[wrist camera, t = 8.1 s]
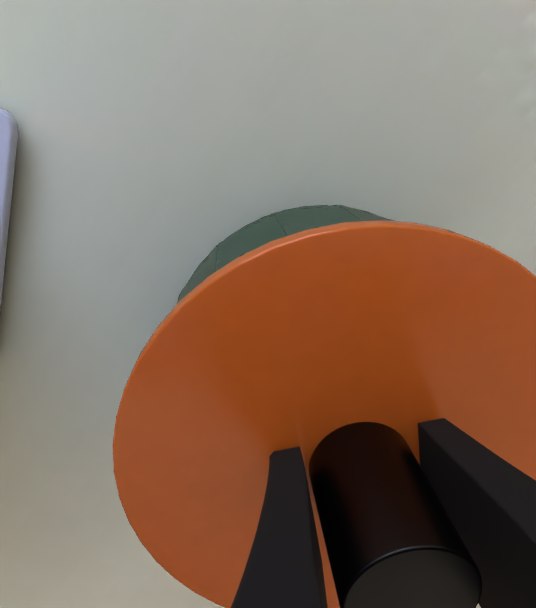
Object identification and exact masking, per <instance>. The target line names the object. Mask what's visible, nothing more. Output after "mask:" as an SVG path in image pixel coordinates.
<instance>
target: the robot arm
mask: <svg viewBox="0 0 536 608" xmlns="http://www.w3.org/2000/svg"><path fill="white" fill-rule="evenodd" d="M17 139H18V126H17V123H16V121H15V119H14V117H13V116H12V115H11V114H10V113H9V112H7V111H5V110H3V109H1V108H0V310H1V300H2V290H3V280H4V270H5V260H6V250H7V240H8V230H9V220H10V209H11V199H12V189H13V179H14V169H15V159H16V149H17ZM418 439H419V455H420V467H421V468H422V470H423V472H424V474H425V475H426V477H427V479H428V481H429V482H430V484H431V486H432V488H433V489H434V491H435V493H436V495H437V497H438V498H439V500H440V502H441V504H442V505H443V507H444V509H445V511H446V512H447V514H448V516H449V518H450V519H451V521H452V523H453V525H454V527H455V528H456V530H457V532H458V534H459V535H460V537H461V539H462V541H463V542H464V544H465V546H466V548H467V549H468V551H469V553H470V555H471V556H472V558H473V560H474V562H475V564H476V565H477V567H478V569H479V571H480V574H481V579H482V592H481V597H480V599H479V602H478V603H479V605H480V607H481V608H536V480H534V479H533V478H531V477H530V476H528V475H526V474H525V473H523V472H522V471H520V470H519V469H517V468H516V467H514V466H513V465H511V464H510V463H508V462H507V461H505V460H504V459H502V458H501V457H499V456H498V455H496V454H495V453H494V452H492V451H491V450H489V449H488V448H486V447H485V446H483V445H482V444H481V443H479V442H478V441H476V440H475V439H473V438H472V437H471V436H469V435H468V434H466V433H465V432H464V431H462V430H461V429H459V428H458V427H456V426H455V425H454V424H452V423H451V422H449V421H448V420H446V419H445V418H440V419H435V420H430V421H425V422H420V423H418ZM231 608H328V605H327V597H326V589H325V581H324V573H323V565H322V558H321V552H320V547H319V541H318V536H317V530H316V525H315V519H314V514H313V508H312V503H311V497H310V492H309V487H308V481H307V476H306V470H305V466H304V461H303V457H302V453H301V449H300V446H299V447H294V448H289V449H284V450H279V451H274V452H273V453H272V454H271V455H270V456H269V473H268V480H267V487H266V492H265V497H264V502H263V506H262V510H261V514H260V519H259V523H258V527H257V531H256V534H255V538H254V541H253V544H252V548H251V551H250V554H249V557H248V560H247V563H246V567H245V570H244V573H243V576H242V579H241V581H240V584H239V587H238V590H237V592H236V595H235V598H234V600H233V603H232V605H231Z"/></svg>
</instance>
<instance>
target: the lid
mask: <svg viewBox="0 0 536 608" xmlns="http://www.w3.org/2000/svg"><path fill="white" fill-rule="evenodd" d="M440 418H445V419H446V420H448V421H449V422H451V423H452V424H454V425H455V426H456V427H458V428H459V429H461V430H462V431H464V432H465V433H466V434H468V435H469V436H471V437H472V438H473V439H475V440H476V441H478V442H479V443H481V444H482V445H483V446H485V447H486V448H488V449H489V450H491V451H492V452H494V453H495V454H496V455H498V456H499V457H501V458H502V459H504V460H505V461H507V462H508V463H510V464H511V465H513V466H514V467H516V468H517V469H519V470H520V471H522V472H523V473H525V474H526V475H528V476H530V477H531V478H533V479H534V480H536V276H535V275H533V274H532V273H531V272H530V271H528V270H527V269H526V268H525V267H523V266H522V265H521V264H520V263H518V262H517V261H515V260H513V259H512V258H510V257H508V256H506V255H504V254H503V253H501V252H499V251H497V250H496V249H494V248H492V247H490V246H488V245H486V244H484V243H482V242H479V241H477V240H474V239H471V238H469V237H466V236H463V235H461V234H458V233H455V232H453V231H450V230H446V229H441V228H437V227H432V226H427V225H423V224H418V223H409V222H396V221H382V220H378V221H361V222H345V223H339V224H334V225H329V226H323V227H318V228H313V229H308V230H304V231H301V232H298V233H295V234H292V235H289V236H286V237H283V238H280V239H277V240H274V241H271V242H269V243H267V244H265V245H263V246H261V247H259V248H257V249H255V250H252V251H250V252H248V253H246V254H244V255H242V256H240V257H238V258H236V259H235V260H233V261H232V262H230V263H229V264H227V265H226V266H224V267H223V268H221V269H219V270H218V271H216V272H215V273H213V274H212V275H210V276H209V277H207V278H206V279H205V280H204V281H203V282H201V283H200V284H199V285H198V286H197V287H196V288H194V289H193V290H192V291H191V292H190V293H189V294H187V295H186V296H185V297H184V298H183V299H182V300H181V301H180V302H179V303H178V304H177V305H176V306H175V307H174V308H173V310H172V311H171V312H170V313H169V314H168V315H167V316H166V317H165V319H164V320H163V321H162V322H161V323H160V324H159V325H158V327H157V328H156V330H155V331H154V333H153V334H152V336H151V337H150V339H149V340H148V342H147V343H146V345H145V346H144V348H143V350H142V351H141V353H140V355H139V357H138V359H137V361H136V364H135V366H134V368H133V370H132V372H131V374H130V376H129V379H128V381H127V383H126V386H125V388H124V392H123V395H122V399H121V402H120V406H119V409H118V412H117V416H116V423H115V431H114V439H113V462H114V474H115V479H116V484H117V488H118V493H119V498H120V500H121V503H122V506H123V508H124V511H125V513H126V516H127V518H128V521H129V523H130V525H131V526H132V528H133V530H134V531H135V533H136V535H137V536H138V538H139V540H140V542H141V543H142V544H143V546H144V547H145V548H146V549H147V550H148V552H149V553H150V554H151V555H152V557H153V558H154V559H155V560H156V562H157V563H159V564H160V565H161V566H162V567H163V568H164V569H165V570H166V571H167V572H168V573H169V574H170V575H172V576H173V577H174V578H175V579H176V580H178V581H179V582H181V583H182V584H183V585H185V586H186V587H188V588H189V589H191V590H192V591H193V592H195V593H197V594H199V595H200V596H202V597H204V598H206V599H208V600H210V601H212V602H214V603H216V604H218V605H220V606H223V607H225V608H231V605H232V603H233V600H234V598H235V595H236V592H237V590H238V587H239V584H240V581H241V579H242V576H243V573H244V570H245V567H246V563H247V560H248V557H249V554H250V551H251V548H252V544H253V541H254V538H255V534H256V531H257V527H258V523H259V519H260V514H261V510H262V506H263V502H264V497H265V492H266V487H267V480H268V473H269V456H270V455H271V454H272V453H273V452H274V451H279V450H284V449H289V448H294V447H299V446H300V449H301V453H302V457H303V461H304V466H305V470H306V476H307V481H308V487H309V492H310V497H311V503H312V508H313V514H314V519H315V525H316V530H317V536H318V541H319V547H320V552H321V558H322V565H323V573H324V581H325V589H326V597H327V605H328V608H476V606H477V604H478V602H479V599H480V597H481V592H482V579H481V574H480V571H479V569H478V567H477V565H476V564H475V562H474V560H473V558H472V556H471V555H470V553H469V551H468V549H467V548H466V546H465V544H464V542H463V541H462V539H461V537H460V535H459V534H458V532H457V530H456V528H455V527H454V525H453V523H452V521H451V519H450V518H449V516H448V514H447V512H446V511H445V509H444V507H443V505H442V504H441V502H440V500H439V498H438V497H437V495H436V493H435V491H434V489H433V488H432V486H431V484H430V482H429V481H428V479H427V477H426V475H425V474H424V472H423V470H422V468H421V467H420V455H419V439H418V423H420V422H425V421H430V420H435V419H440Z"/></svg>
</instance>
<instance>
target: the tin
mask: <svg viewBox="0 0 536 608" xmlns="http://www.w3.org/2000/svg"><path fill="white" fill-rule="evenodd" d="M378 220H382V221H393V220H389V219H386V218H382V217H379V216H377V215H374V214H371V213H369V212H366V211H362V210H357V209H353V208H349V207H345V206H342V205H332V206H328V205H321V206H304V207H299V208H293V209H288V210H283V211H280V212H276V213H273V214H271V215H268V216H265V217H263V218H261V219H258V220H256V221H254V222H252V223H250V224H248V225H246V226H244V227H243V228H241V229H240V230H238V231H237V232H235V233H233V234H232V235H230V236H229V237H227V238H226V239H225V240H224V241H223V242H221V243H219V244H218V245H217V246H216V247H215V248H214V250H212V251H211V253H210V254H209V255H208V256H207V257H206V258H205V259H204V260H203V262H202V263H201V264H200V265H199V266H198V268H197V269H196V271H195V272H194V274H193V275H192V277H191V278H190V280H189V281H188V283H187V284H186V286H185V287H184V288H183V290H182V291H181V293H180V295H179V298H178V302H177V304H178V303H179V302H180V301H181V300H182V299H183V298H184V297H185V296H186V295H187V294H189V293H190V292H191V291H192V290H193V289H194V288H196V287H197V286H198V285H199V284H200V283H201V282H203V281H204V280H205V279H206V278H207V277H209V276H210V275H212V274H213V273H215V272H216V271H218V270H219V269H221V268H223V267H224V266H226V265H227V264H229V263H230V262H232V261H233V260H235V259H236V258H238V257H240V256H242V255H244V254H246V253H248V252H250V251H252V250H255V249H257V248H259V247H261V246H263V245H265V244H267V243H269V242H271V241H274V240H277V239H280V238H283V237H286V236H289V235H292V234H295V233H298V232H301V231H304V230H308V229H313V228H318V227H323V226H329V225H334V224H339V223H345V222H361V221H378Z"/></svg>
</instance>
